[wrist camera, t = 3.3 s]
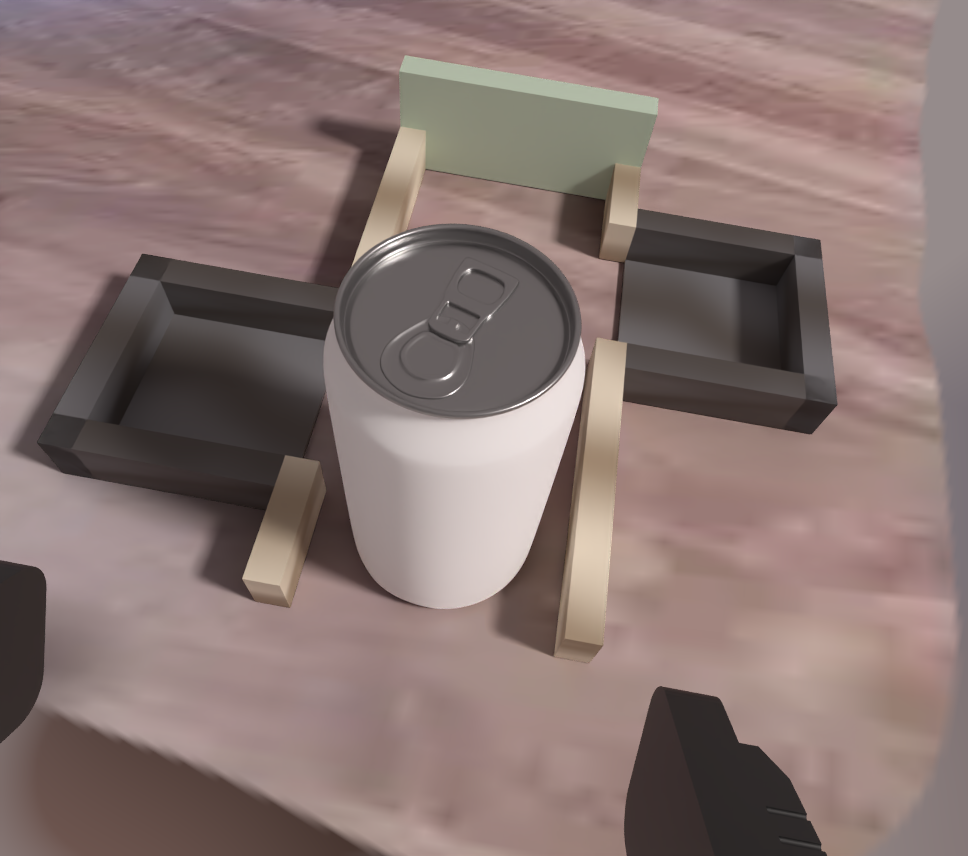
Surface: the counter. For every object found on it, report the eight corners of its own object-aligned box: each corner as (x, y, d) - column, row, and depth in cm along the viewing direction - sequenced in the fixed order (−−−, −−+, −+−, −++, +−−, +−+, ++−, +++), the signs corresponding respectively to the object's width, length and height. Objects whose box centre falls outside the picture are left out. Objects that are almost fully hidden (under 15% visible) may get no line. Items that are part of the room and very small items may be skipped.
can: (317, 557, 26) (252, 350, 16) (412, 422, 29) (409, 176, 19) (480, 648, 25) (523, 486, 15) (560, 496, 28) (643, 276, 18)
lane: (833, 708, 25) (867, 694, 23) (19, 557, 25) (-13, 531, 23) (794, 215, 37) (813, 180, 35) (247, 121, 38) (238, 82, 36)
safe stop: (629, 204, 37) (657, 114, 32) (401, 164, 37) (399, 71, 33) (631, 187, 37) (658, 98, 33) (406, 149, 38) (405, 55, 33)
